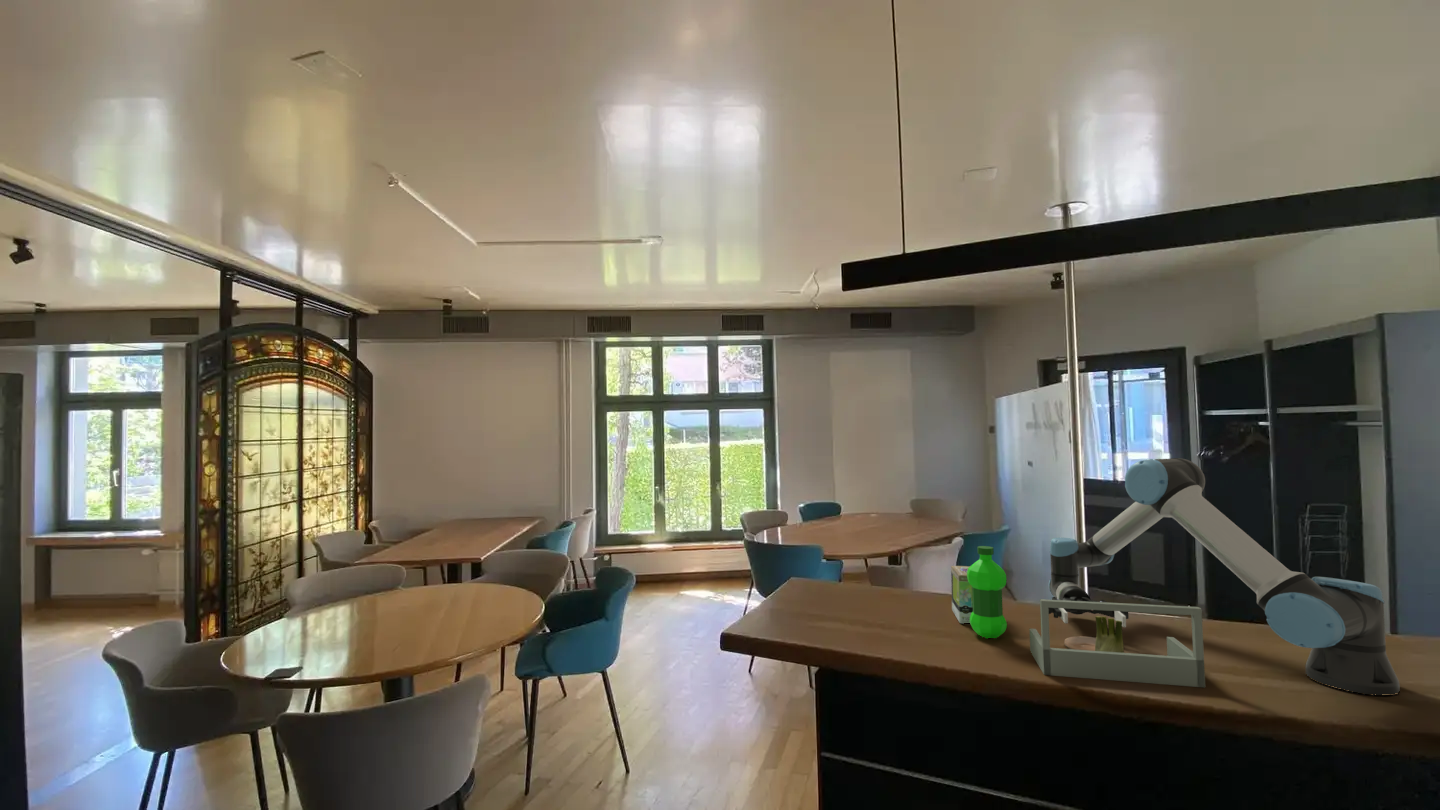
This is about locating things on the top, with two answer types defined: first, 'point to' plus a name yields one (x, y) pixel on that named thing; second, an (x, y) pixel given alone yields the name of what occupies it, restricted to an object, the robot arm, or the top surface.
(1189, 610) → the frame
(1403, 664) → the top surface
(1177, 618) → the top surface
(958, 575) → the tea box
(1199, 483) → the robot arm
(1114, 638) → the fennel bulb
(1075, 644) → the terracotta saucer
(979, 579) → the plastic bottle
